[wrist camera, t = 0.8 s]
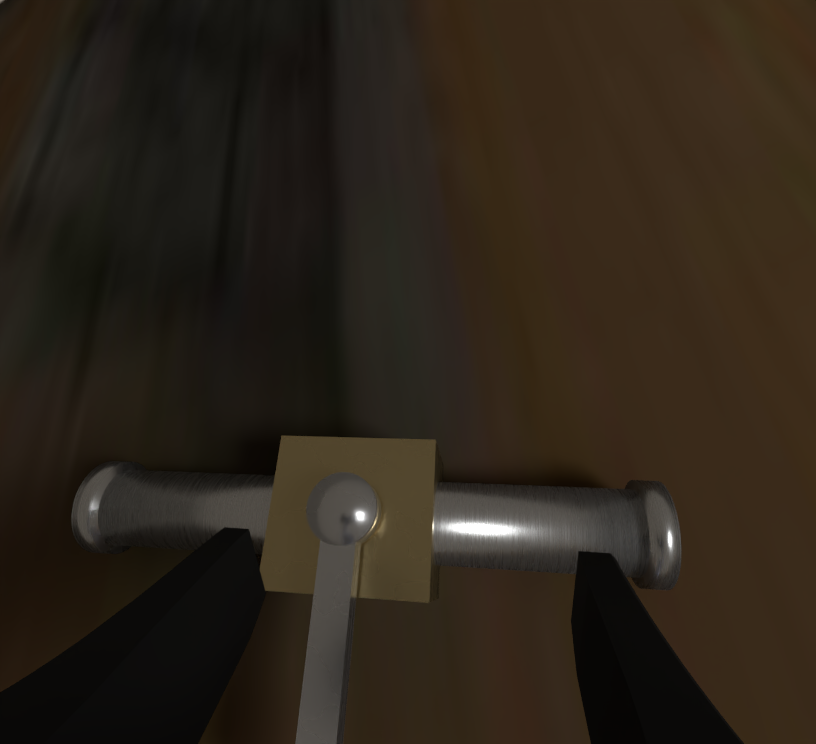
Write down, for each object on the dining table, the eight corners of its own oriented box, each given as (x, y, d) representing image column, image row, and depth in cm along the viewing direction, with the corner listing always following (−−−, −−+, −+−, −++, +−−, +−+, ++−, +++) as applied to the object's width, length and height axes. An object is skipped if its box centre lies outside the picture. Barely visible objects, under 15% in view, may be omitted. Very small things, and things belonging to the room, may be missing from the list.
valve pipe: (650, 613, 22) (695, 622, 18) (123, 575, 26) (47, 574, 21) (633, 470, 25) (669, 446, 20) (154, 454, 28) (92, 430, 24)
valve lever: (320, 476, 21) (310, 470, 20) (384, 479, 21) (378, 472, 20) (266, 895, 16) (248, 922, 15) (350, 909, 16) (339, 938, 14)
